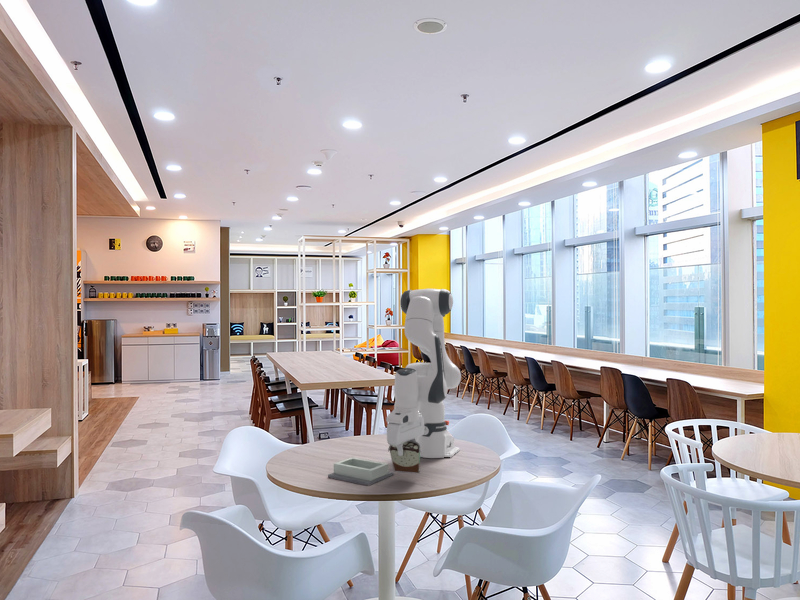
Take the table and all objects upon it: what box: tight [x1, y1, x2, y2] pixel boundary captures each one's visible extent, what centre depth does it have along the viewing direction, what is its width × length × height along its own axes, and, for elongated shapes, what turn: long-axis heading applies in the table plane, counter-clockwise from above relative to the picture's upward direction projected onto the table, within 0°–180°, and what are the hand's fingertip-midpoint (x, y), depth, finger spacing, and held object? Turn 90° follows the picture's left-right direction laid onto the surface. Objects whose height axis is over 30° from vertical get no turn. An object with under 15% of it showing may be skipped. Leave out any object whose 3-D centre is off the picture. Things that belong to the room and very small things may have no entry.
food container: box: [387, 440, 422, 474], centre depth 195 cm, size 12×6×10 cm, turn 73°
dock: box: [327, 456, 395, 487], centre depth 199 cm, size 16×18×4 cm
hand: (406, 452), depth 194 cm, fingers closed on food container, 6 cm apart
